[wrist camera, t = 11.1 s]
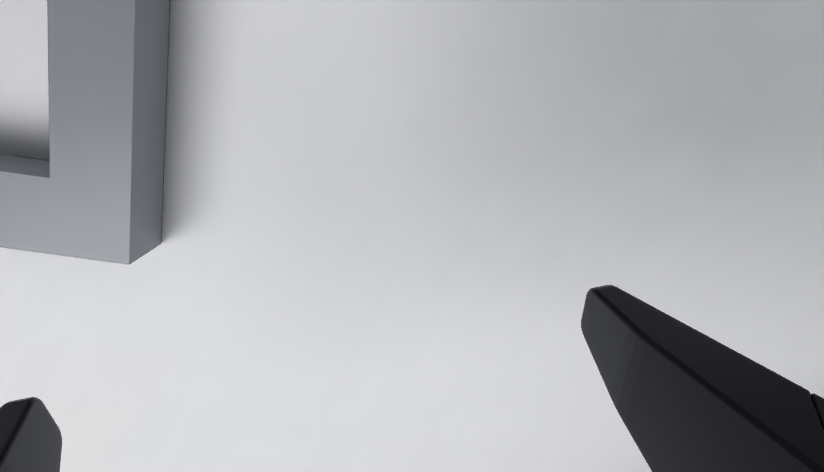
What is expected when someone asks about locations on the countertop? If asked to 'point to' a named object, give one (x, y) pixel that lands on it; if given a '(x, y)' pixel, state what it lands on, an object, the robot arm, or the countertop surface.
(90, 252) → the charging dock
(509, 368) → the countertop surface
